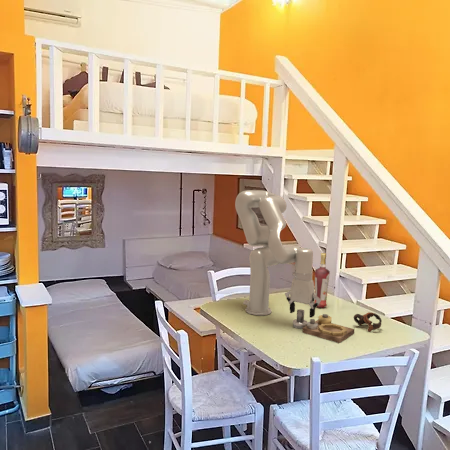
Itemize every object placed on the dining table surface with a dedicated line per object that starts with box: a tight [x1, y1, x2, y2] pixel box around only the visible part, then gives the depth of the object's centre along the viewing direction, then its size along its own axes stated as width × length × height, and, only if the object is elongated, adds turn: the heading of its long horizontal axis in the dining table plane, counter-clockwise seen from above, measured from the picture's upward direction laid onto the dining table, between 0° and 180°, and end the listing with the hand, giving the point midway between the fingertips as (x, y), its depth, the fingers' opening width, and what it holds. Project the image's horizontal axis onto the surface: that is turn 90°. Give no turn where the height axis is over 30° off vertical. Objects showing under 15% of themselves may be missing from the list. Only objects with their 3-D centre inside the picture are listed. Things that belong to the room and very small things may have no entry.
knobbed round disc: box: [292, 308, 308, 330], centre depth 194 cm, size 6×6×7 cm
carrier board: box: [301, 313, 355, 344], centre depth 188 cm, size 17×15×6 cm
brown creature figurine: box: [353, 311, 382, 332], centre depth 196 cm, size 12×10×8 cm
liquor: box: [314, 252, 331, 309], centre depth 224 cm, size 7×7×28 cm
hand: (301, 314), depth 194 cm, fingers open, 9 cm apart
